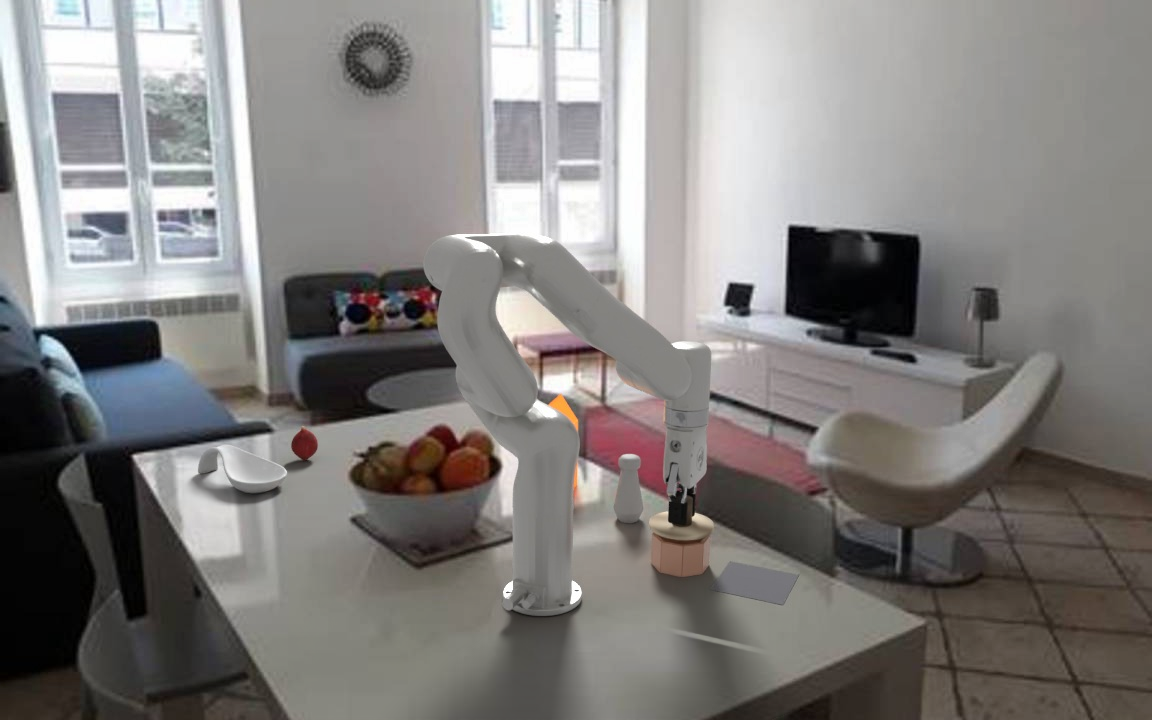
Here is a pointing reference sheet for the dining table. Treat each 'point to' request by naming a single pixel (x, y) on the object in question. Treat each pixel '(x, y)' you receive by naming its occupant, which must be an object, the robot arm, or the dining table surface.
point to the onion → (304, 444)
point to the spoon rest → (244, 469)
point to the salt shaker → (628, 490)
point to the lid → (692, 530)
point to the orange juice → (563, 407)
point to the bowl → (680, 555)
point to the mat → (755, 582)
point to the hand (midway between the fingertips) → (681, 518)
